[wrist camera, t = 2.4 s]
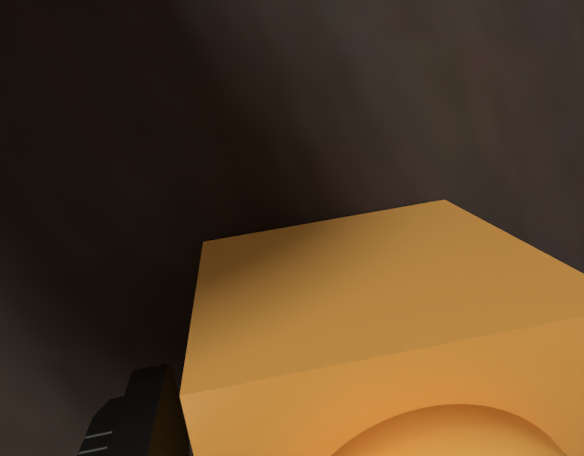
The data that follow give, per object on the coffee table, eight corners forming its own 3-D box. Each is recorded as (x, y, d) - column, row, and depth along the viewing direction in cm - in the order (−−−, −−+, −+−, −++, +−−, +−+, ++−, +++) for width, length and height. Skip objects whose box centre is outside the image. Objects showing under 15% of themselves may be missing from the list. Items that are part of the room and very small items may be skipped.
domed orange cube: (203, 241, 12) (167, 471, 5) (444, 199, 12) (735, 354, 5) (245, 450, 13) (266, 850, 6) (458, 406, 14) (694, 738, 7)
